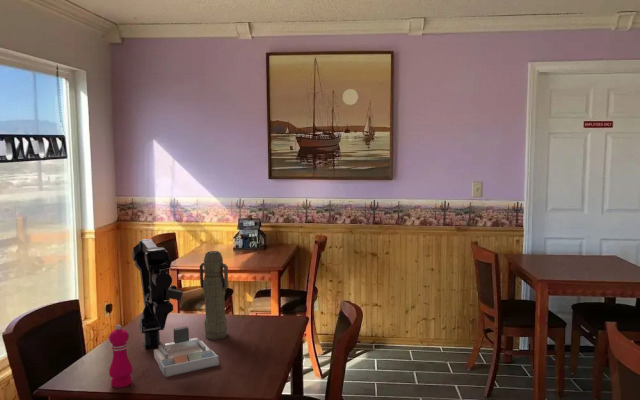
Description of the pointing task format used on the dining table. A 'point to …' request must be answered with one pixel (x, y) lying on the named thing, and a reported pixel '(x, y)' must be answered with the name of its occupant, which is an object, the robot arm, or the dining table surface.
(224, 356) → the dining table surface
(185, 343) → the grey panel
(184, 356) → the terracotta tile
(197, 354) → the sage tile
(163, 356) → the white shallow box
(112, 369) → the pepper mill
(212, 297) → the thermos
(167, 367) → the tray
